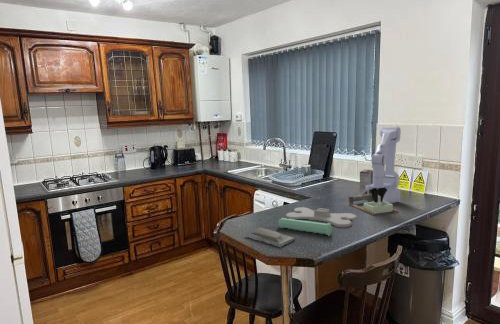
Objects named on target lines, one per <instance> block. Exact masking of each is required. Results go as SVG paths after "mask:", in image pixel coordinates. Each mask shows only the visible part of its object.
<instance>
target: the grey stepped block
mask: <svg viewBox="0 0 500 324" xmlns="http://www.w3.org/2000/svg"><path fill="white" fill-rule="evenodd" d="M253 230H254V231H253ZM253 230H252V231H253V232H252V233H251V234H254V235H257V236H260V237H262V239H265V240H268V241H271V242H274V243H277V244H280V245H281V244H283V243H286V242H288V241H291V240H293V239H295V240H296V238H295V237H294V236H289V235H285V234H283V233H280V232H278V231H275V230H271V229H267V228H263V227H257V228H255V229H253Z"/></svg>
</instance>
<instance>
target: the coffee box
mask: <svg viewBox="0 0 500 324" xmlns="http://www.w3.org/2000/svg"><path fill="white" fill-rule="evenodd" d="M371 184H373V169H363V170H361V171H359V195H368V194H371V192H370V190H366V189H365V186H368V185H371Z"/></svg>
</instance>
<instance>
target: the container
mask: <svg viewBox="0 0 500 324" xmlns="http://www.w3.org/2000/svg"><path fill="white" fill-rule="evenodd" d="M277 224H278V227H279V226H280V227H283V228H282V229H284V228H289V229H288V230H290V229H294V230H293V231H296V230H300V231H299V232H303V231H306V232H305V233H309V232H313V233H312V234H316V233H319V234H318V235H323V234H325V235H324V236H327V235H328V236H327V237H330V236H331V235H332V231H333V230H332V228H333V227H332V226H333V225H331V223H326V222H319V221H311V220H295V219H287V218H286V217H281V218H279V220H278V223H277ZM280 227H279V228H280Z"/></svg>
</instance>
